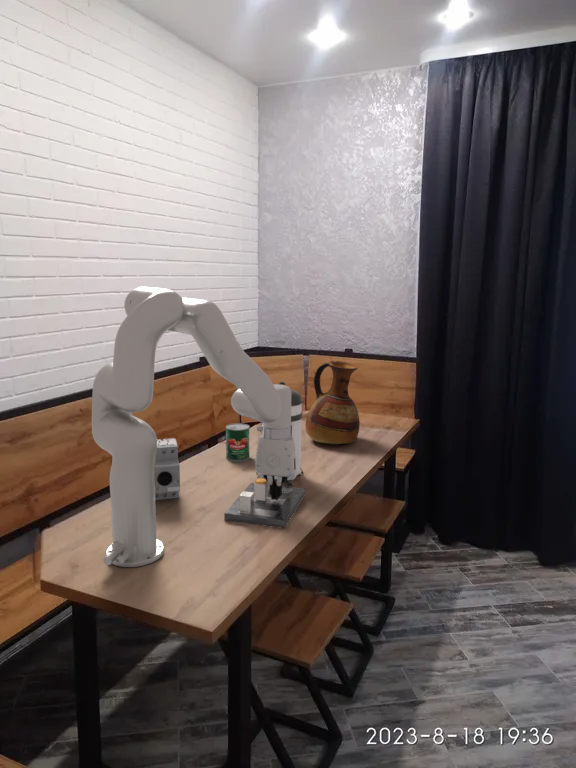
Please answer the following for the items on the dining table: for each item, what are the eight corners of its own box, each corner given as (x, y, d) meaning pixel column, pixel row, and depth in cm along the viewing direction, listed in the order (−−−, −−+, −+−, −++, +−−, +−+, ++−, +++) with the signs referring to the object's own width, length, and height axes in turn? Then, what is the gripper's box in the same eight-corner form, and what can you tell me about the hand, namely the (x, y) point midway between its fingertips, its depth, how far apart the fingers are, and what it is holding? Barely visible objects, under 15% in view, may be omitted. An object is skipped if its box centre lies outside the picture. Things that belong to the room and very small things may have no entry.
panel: (284, 528, 146) (285, 503, 144) (224, 520, 150) (224, 496, 148) (304, 495, 167) (305, 473, 165) (251, 489, 171) (251, 467, 169)
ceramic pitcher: (348, 452, 204) (351, 368, 198) (296, 444, 213) (297, 363, 207) (366, 438, 222) (369, 360, 216) (317, 430, 230) (319, 355, 224)
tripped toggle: (264, 500, 156) (265, 482, 155) (254, 499, 157) (254, 481, 156) (268, 496, 159) (268, 478, 158) (257, 495, 160) (257, 477, 159)
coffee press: (247, 472, 184) (247, 378, 178) (295, 467, 189) (296, 376, 183) (263, 492, 168) (264, 390, 162) (315, 486, 173) (317, 387, 167)
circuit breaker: (152, 509, 156) (150, 455, 153) (150, 489, 169) (148, 439, 166) (181, 506, 158) (179, 453, 155) (176, 487, 171) (175, 438, 168)
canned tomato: (242, 452, 203) (242, 422, 201) (253, 459, 196) (253, 427, 194) (221, 456, 199) (221, 425, 196) (232, 463, 192) (232, 430, 190)
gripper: (244, 433, 151) (244, 500, 155) (300, 438, 148) (299, 506, 151) (253, 425, 159) (253, 489, 162) (307, 430, 155) (306, 495, 159)
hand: (275, 497), depth 157 cm, fingers closed
